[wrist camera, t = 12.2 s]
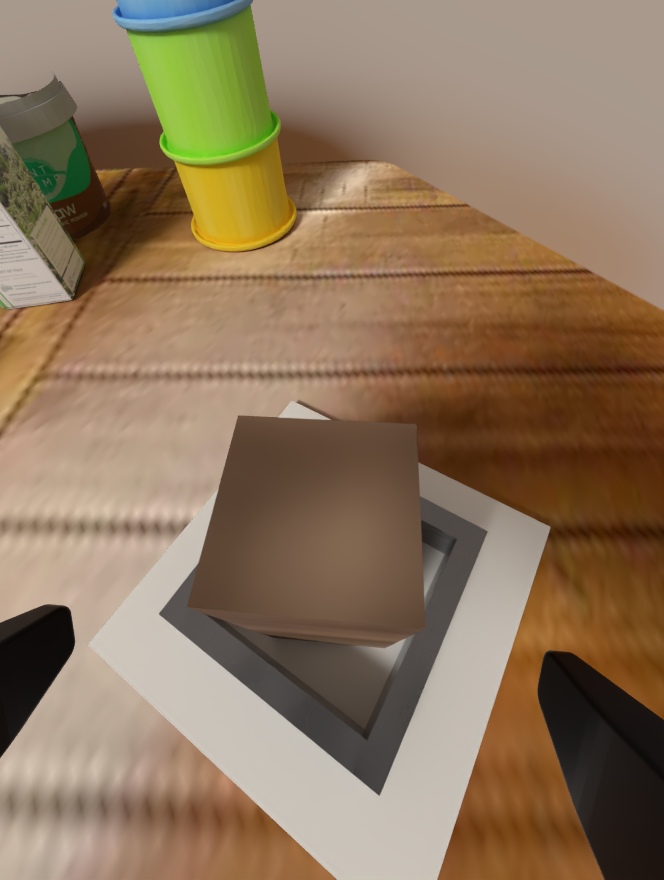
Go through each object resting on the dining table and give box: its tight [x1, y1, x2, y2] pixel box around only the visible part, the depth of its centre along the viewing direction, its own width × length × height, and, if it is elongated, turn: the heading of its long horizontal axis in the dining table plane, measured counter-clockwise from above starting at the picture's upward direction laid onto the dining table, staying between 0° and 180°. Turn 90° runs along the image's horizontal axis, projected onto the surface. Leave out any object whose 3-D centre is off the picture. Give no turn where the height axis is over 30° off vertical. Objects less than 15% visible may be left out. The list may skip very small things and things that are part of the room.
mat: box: [88, 401, 551, 880], centre depth 18 cm, size 16×16×1 cm
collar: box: [159, 496, 488, 796], centre depth 16 cm, size 10×10×2 cm
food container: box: [0, 72, 111, 240], centre depth 32 cm, size 12×6×10 cm, turn 129°
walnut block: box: [187, 416, 426, 648], centre depth 13 cm, size 5×5×10 cm
